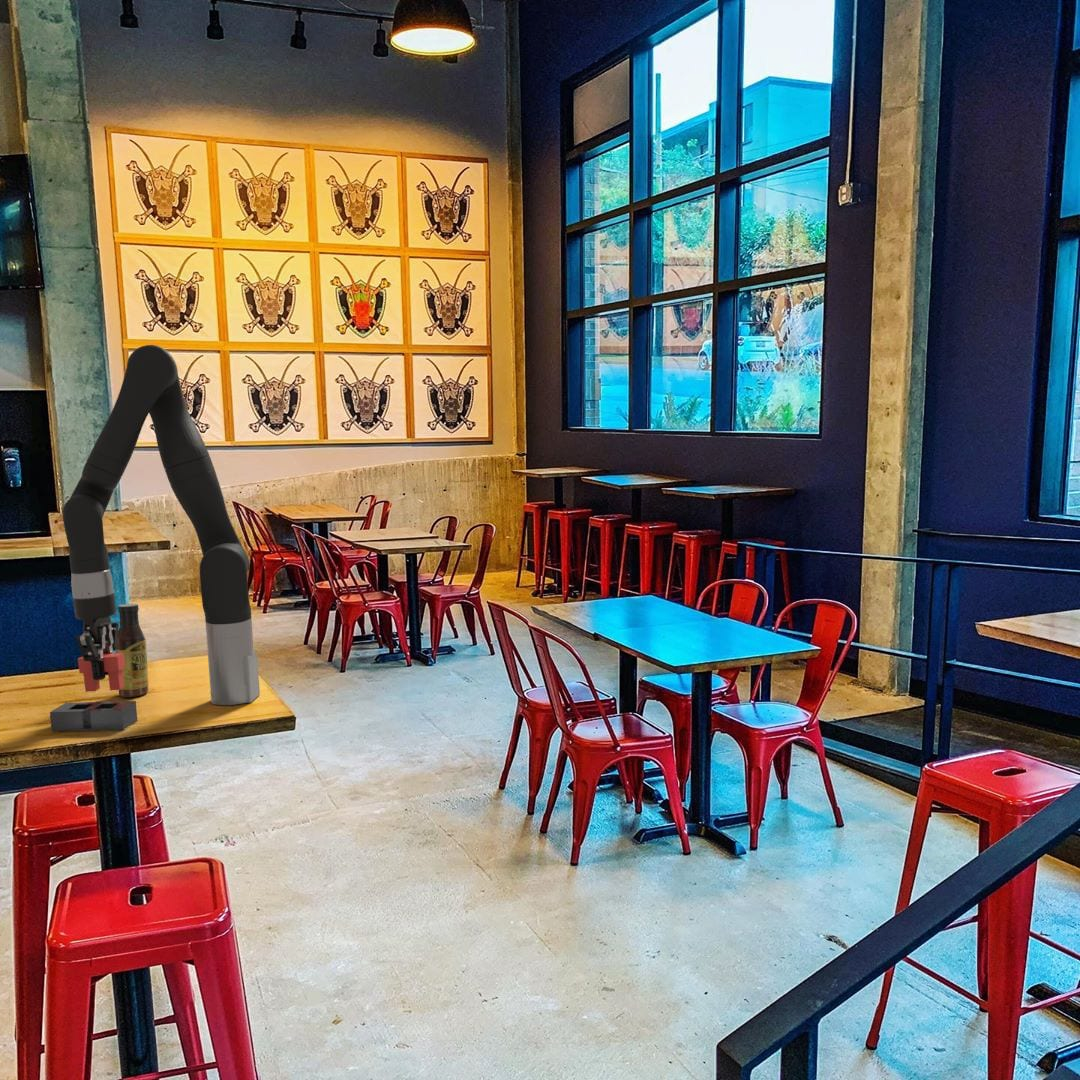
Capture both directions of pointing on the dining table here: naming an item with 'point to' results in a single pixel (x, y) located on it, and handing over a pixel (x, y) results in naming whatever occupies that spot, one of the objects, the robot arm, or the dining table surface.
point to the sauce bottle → (132, 652)
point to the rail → (93, 716)
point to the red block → (111, 665)
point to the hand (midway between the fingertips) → (103, 676)
